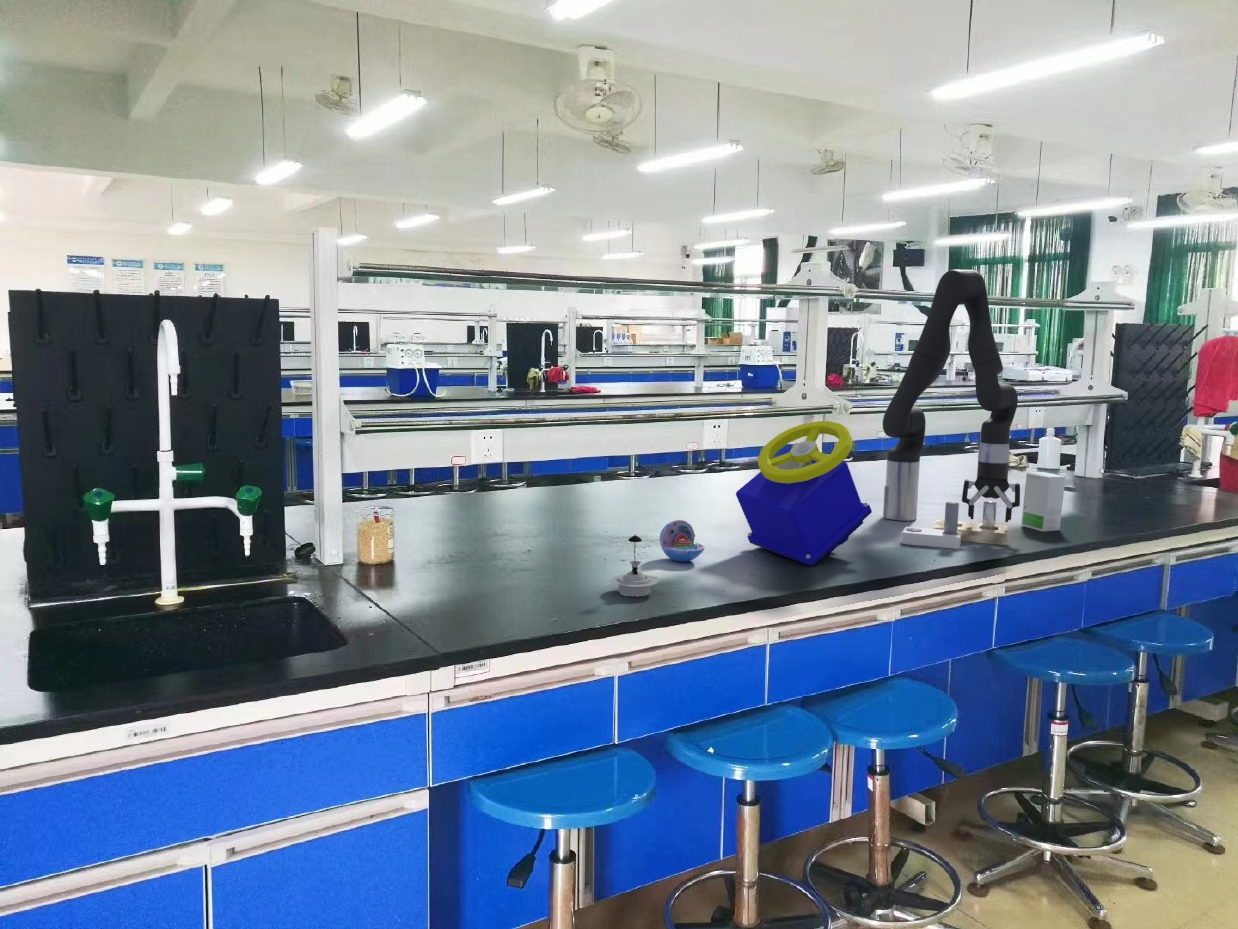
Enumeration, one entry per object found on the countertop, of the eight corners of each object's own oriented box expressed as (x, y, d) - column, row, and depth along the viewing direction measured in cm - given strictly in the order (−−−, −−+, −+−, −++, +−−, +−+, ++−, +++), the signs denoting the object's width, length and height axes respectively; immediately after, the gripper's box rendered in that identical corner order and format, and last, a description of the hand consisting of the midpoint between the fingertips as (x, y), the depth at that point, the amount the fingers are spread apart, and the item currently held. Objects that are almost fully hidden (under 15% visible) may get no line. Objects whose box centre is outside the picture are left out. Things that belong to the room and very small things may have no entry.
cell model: (679, 569, 207) (679, 528, 205) (650, 558, 217) (651, 518, 215) (714, 563, 212) (715, 523, 210) (684, 553, 222) (685, 514, 220)
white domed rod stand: (662, 539, 181) (655, 529, 191) (613, 540, 180) (608, 530, 190) (662, 599, 183) (655, 585, 193) (612, 600, 182) (608, 586, 192)
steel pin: (981, 539, 240) (983, 502, 238) (981, 537, 243) (983, 500, 241) (994, 540, 238) (996, 503, 237) (994, 538, 241) (996, 501, 240)
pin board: (933, 538, 240) (933, 527, 240) (936, 529, 251) (936, 519, 251) (1006, 545, 233) (1007, 533, 233) (1006, 535, 244) (1007, 525, 244)
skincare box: (1020, 526, 257) (1024, 472, 255) (1037, 524, 259) (1041, 471, 257) (1044, 532, 249) (1048, 476, 247) (1062, 530, 252) (1066, 475, 250)
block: (901, 543, 234) (904, 502, 232) (904, 537, 241) (907, 497, 240) (959, 549, 228) (962, 506, 227) (960, 542, 236) (963, 501, 234)
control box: (824, 505, 239) (788, 411, 226) (904, 529, 217) (869, 427, 204) (757, 563, 230) (716, 470, 217) (834, 595, 208) (793, 493, 195)
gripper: (963, 460, 237) (960, 520, 239) (1023, 463, 231) (1018, 525, 234) (965, 456, 244) (961, 515, 246) (1022, 459, 238) (1018, 520, 241)
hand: (989, 520), depth 240 cm, fingers open, 8 cm apart
